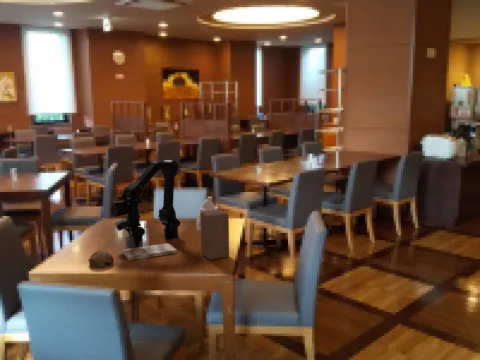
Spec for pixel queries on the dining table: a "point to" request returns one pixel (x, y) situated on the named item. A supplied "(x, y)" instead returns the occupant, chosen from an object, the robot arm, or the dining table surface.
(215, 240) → the wooden block
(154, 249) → the board
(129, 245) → the block
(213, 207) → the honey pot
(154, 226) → the dining table surface
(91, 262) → the brown dome
